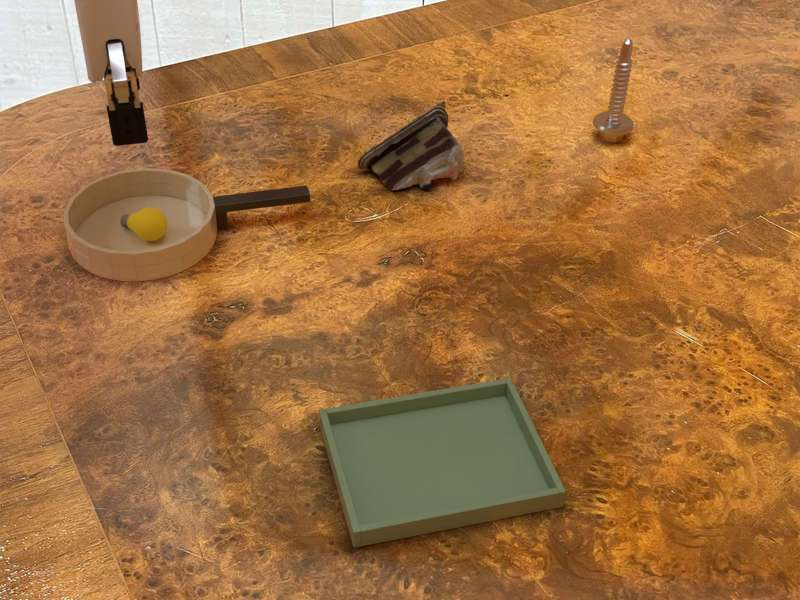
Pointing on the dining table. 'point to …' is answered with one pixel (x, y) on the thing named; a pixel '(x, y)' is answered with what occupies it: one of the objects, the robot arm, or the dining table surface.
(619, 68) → the screw
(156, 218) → the light bulb
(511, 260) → the dining table surface
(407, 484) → the tray
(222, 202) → the pan handle
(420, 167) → the striped layered wedge
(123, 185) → the pan
